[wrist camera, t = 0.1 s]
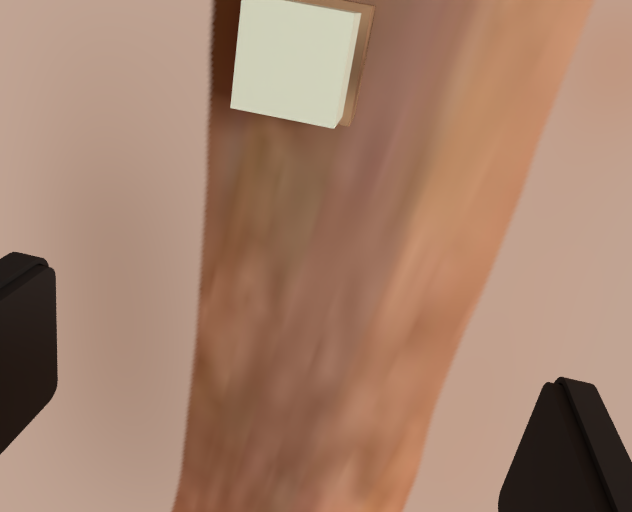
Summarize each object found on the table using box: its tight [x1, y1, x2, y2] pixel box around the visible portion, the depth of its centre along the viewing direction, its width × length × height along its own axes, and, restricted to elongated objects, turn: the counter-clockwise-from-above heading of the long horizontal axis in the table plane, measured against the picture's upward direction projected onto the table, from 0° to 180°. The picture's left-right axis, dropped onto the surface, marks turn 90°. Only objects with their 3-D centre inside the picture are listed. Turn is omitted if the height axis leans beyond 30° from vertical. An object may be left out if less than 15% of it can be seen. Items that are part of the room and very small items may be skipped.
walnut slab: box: [294, 0, 376, 127], centre depth 37 cm, size 7×7×4 cm
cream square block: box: [230, 0, 361, 129], centre depth 33 cm, size 6×6×4 cm
